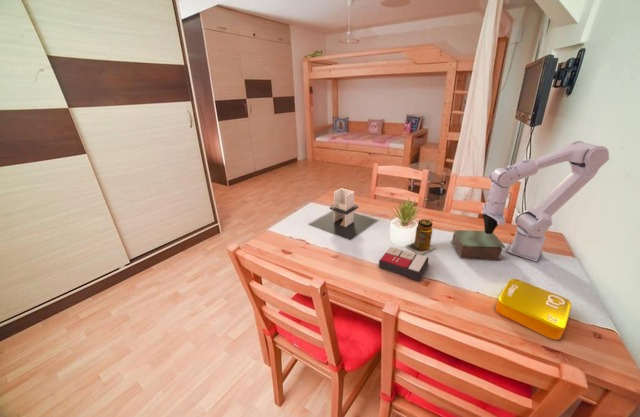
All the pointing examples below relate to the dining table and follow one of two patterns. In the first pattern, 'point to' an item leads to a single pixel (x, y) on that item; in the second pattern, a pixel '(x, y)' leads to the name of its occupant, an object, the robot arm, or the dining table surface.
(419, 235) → the condiment
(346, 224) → the candle holder
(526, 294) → the element tile
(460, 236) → the sage green tile
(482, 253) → the brown box
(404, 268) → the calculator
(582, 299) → the dining table surface
